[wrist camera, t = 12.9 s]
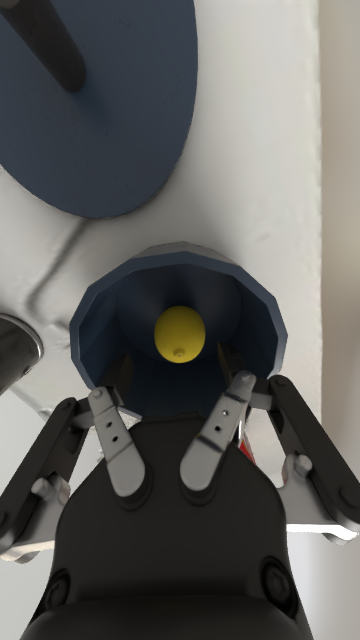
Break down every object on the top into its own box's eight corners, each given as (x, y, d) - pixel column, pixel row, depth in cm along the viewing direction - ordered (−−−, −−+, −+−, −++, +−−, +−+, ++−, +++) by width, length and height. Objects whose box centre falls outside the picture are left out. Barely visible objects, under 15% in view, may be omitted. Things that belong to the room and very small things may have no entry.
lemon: (203, 297, 21) (215, 331, 14) (198, 334, 24) (205, 379, 16) (158, 294, 21) (147, 327, 14) (158, 332, 23) (149, 377, 16)
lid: (31, 231, 18) (-42, 232, 12) (-149, -139, 9) (-707, -762, 3) (204, 203, 17) (217, 188, 11) (178, -252, 8) (174, -1511, 2)
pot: (132, 368, 27) (111, 430, 19) (92, 254, 19) (22, 274, 11) (242, 357, 26) (271, 418, 18) (248, 231, 18) (308, 232, 10)
